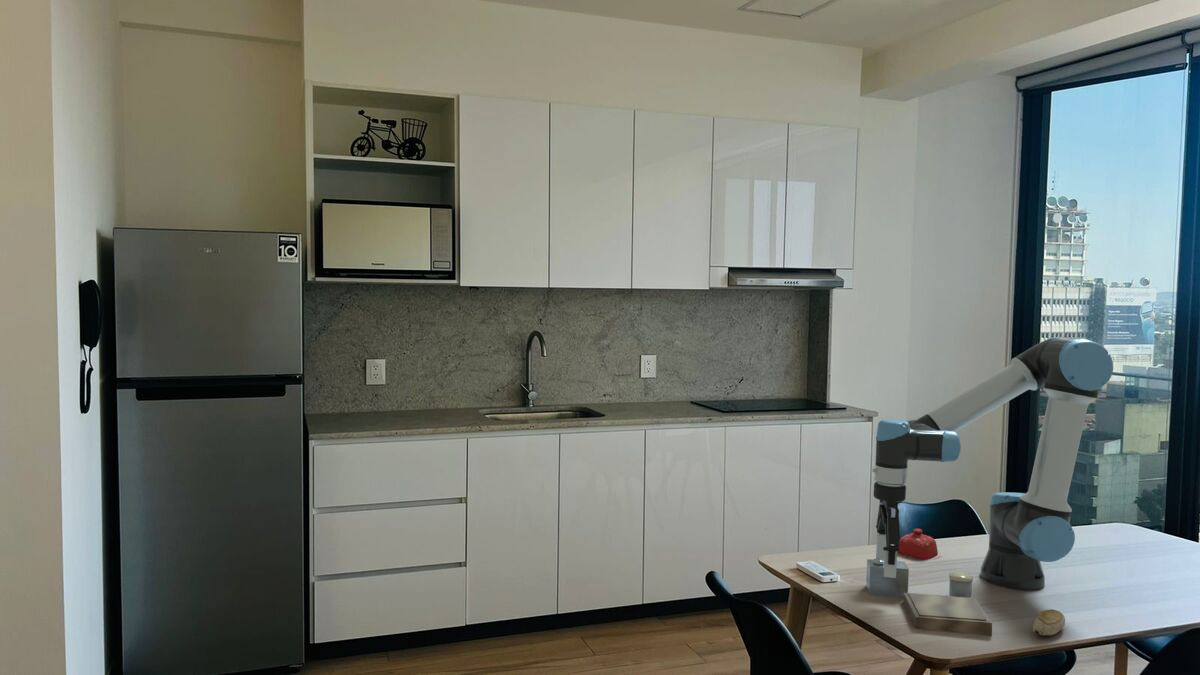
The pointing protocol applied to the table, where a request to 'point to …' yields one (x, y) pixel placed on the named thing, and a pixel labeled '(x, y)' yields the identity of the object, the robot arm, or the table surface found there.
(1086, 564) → the table surface
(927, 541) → the butter dish
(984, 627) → the walnut riser
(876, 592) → the grey knobbed box
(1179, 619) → the table surface
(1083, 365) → the robot arm
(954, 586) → the slate ceramic salt pot
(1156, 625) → the table surface
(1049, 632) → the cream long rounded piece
